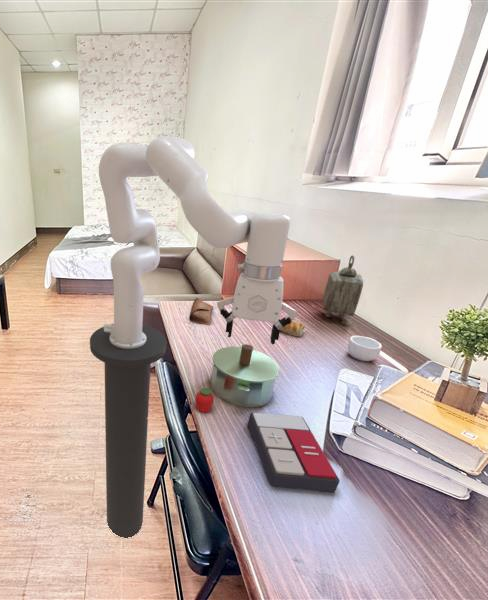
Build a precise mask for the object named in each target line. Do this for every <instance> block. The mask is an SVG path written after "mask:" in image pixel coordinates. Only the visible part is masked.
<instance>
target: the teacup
mask: <svg viewBox="0 0 488 600" xmlns="http://www.w3.org/2000/svg"><path fill="white" fill-rule="evenodd" d="M382 346H383V345H382V343H381V342H379V341H378V340H376V339H373V338H371V337H368V336H363V335H352V336H351V337H350V338H349V339H348V343H347V351H348V352H347V353H349V355H350V356H351V357H352V358H354V359H356V360H357V361H361V362H370V361H373V360H375V359H377V358H378V357H379V355H380V353H381V351H382V348H383V347H382Z"/></svg>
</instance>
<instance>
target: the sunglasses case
mask: <svg viewBox="0 0 488 600" xmlns="http://www.w3.org/2000/svg"><path fill="white" fill-rule="evenodd" d="M213 309H214V306H213V305H211V304H209V303H207V302H205V301H203V300H202V299H200V298H199V297H195V299H194V300H193V302H192V305H191V309H190V313H189V316H188V317H189V318H188V319H189V321H190V322H191V323H195V324H203V325H211V323H212V311H213Z"/></svg>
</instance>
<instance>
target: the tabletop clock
mask: <svg viewBox="0 0 488 600" xmlns="http://www.w3.org/2000/svg"><path fill="white" fill-rule="evenodd" d="M354 263H355V255H350V257H349V261H348V266H346V267H344V268H342V269H341V270H340V271H334V272H330V273H329V274H328V277H327V281H326V284H325V285H326V286H325V289H324V292H323V297H322V308H323V309H324V310H325V311H327V312H328V313H326V314H325V317H326V318H331V316H332V313H333V314H339V315H340V317H341V319H342V321H341V324H342V325H343V326H346V325H347V324H348V321H347V320H345V319H346V318H345V316H351V317H354V315H355V314H356V310H357V307H358V304H359V302H360V299H361V295H362V291H363V287H364V279H363V276H362V275H361V274H359V273H357V270H356V269H355V268H353V266H354Z"/></svg>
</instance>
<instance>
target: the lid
mask: <svg viewBox="0 0 488 600" xmlns="http://www.w3.org/2000/svg"><path fill="white" fill-rule="evenodd" d="M212 363H213V365H215V366H216V368H217V369H218V370H220V371H221V372H222V373H224V374H225V375H227V376H229V377H232V378H234V379H237V380H240V381H244V382H251V383H264V382H269V381H272V380H274V379H275V378H276V379H277V377H278V376H279V373H280V367H279V365H278V364H277V362H276V361H274V359H272V358H271V357H270V356H268V355H267V354H265V353H263V352H261V351H258V350H255V349H254V346H252V345H251V344H248V343H247V344H242V345H241V346H226V347H222V348H219V349H218V350H216V351H214V352H213V355H212ZM276 379H275V380H276Z"/></svg>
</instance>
